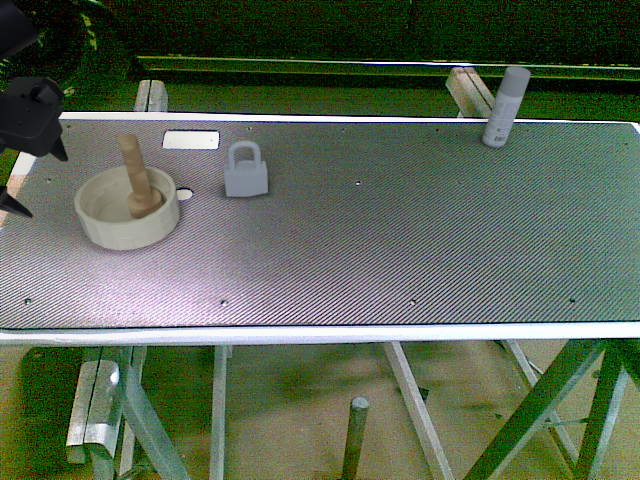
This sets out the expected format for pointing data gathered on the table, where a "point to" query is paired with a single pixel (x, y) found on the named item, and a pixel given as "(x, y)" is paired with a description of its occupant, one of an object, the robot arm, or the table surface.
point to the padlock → (245, 172)
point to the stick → (138, 179)
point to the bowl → (125, 210)
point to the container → (506, 106)
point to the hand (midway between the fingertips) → (48, 187)
